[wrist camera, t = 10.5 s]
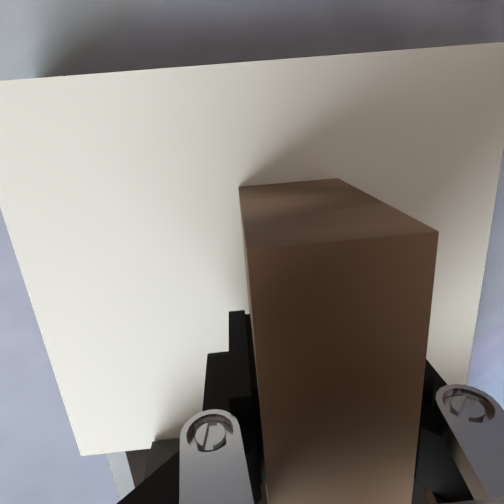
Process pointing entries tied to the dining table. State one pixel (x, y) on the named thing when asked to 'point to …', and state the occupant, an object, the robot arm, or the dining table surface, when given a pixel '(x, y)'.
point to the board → (227, 206)
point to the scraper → (335, 342)
